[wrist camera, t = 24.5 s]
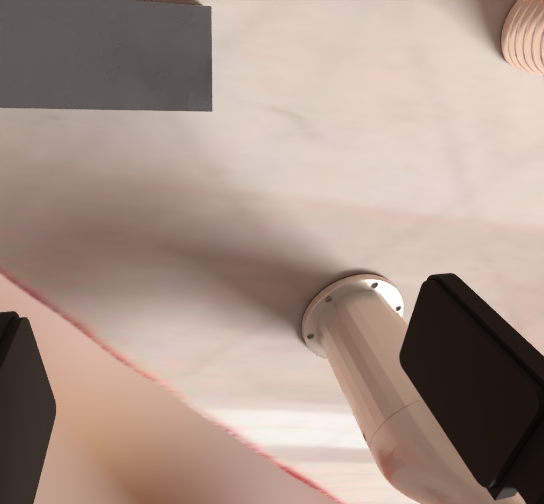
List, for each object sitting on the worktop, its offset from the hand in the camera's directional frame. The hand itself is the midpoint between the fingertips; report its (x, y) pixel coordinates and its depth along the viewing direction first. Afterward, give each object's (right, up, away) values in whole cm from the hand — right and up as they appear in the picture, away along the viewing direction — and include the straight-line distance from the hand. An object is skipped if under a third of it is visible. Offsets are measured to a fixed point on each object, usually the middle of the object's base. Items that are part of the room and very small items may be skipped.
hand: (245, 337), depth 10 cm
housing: (-12, +16, +18) cm, 27 cm away
